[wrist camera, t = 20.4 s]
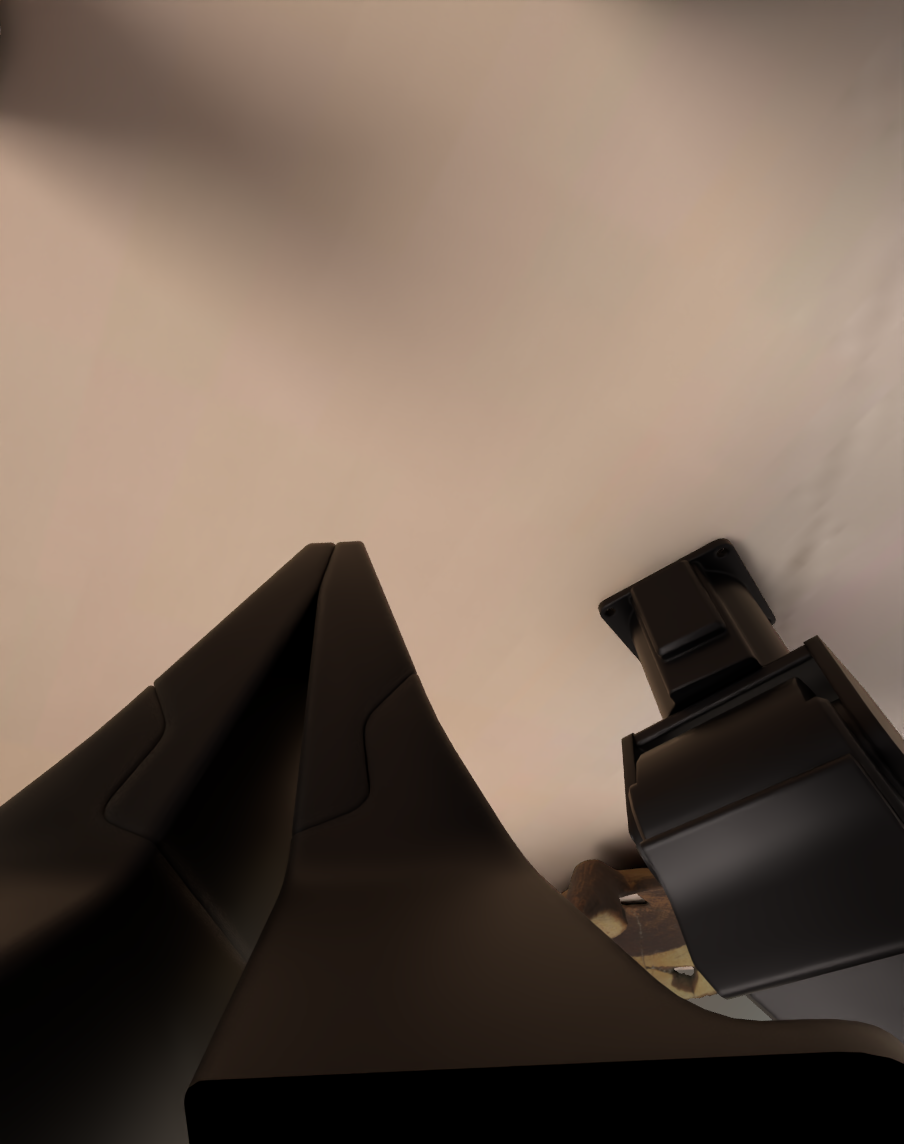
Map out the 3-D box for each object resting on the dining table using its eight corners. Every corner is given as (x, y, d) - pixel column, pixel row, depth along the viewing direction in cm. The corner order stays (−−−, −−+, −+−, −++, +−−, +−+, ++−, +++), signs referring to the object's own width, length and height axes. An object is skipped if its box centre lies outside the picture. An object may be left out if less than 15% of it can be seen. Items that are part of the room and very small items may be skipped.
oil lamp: (518, 953, 57) (529, 1050, 51) (485, 804, 39) (495, 930, 33) (743, 933, 56) (780, 1030, 50) (822, 768, 37) (898, 893, 31)
